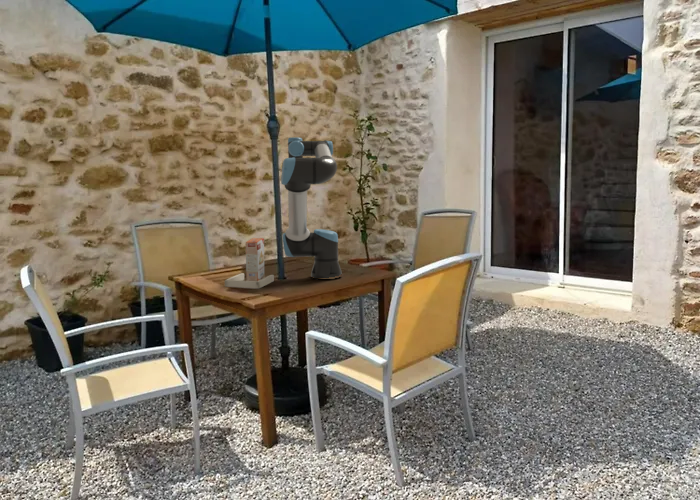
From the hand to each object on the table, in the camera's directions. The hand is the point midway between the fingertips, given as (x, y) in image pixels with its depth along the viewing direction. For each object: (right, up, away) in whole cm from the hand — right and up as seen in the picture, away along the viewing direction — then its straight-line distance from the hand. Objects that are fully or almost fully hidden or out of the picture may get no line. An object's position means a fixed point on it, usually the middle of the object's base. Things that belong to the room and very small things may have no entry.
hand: (296, 213), depth 307 cm
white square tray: (-19, -35, -33) cm, 51 cm away
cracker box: (-16, -35, -33) cm, 51 cm away
